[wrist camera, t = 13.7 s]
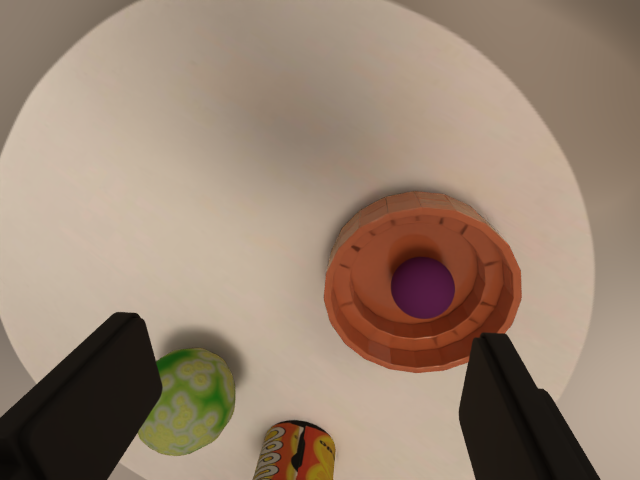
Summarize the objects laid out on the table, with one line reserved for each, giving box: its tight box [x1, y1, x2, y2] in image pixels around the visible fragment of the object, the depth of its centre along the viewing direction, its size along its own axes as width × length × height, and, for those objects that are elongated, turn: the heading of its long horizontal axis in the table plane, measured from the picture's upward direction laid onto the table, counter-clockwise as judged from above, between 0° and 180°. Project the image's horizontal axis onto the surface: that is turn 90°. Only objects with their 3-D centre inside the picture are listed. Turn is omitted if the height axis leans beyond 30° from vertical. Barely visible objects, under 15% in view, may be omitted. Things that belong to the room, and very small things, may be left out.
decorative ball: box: [138, 348, 235, 456], centre depth 36 cm, size 10×10×10 cm
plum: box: [391, 257, 455, 319], centre depth 29 cm, size 5×5×5 cm
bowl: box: [324, 191, 522, 373], centre depth 30 cm, size 15×15×5 cm
